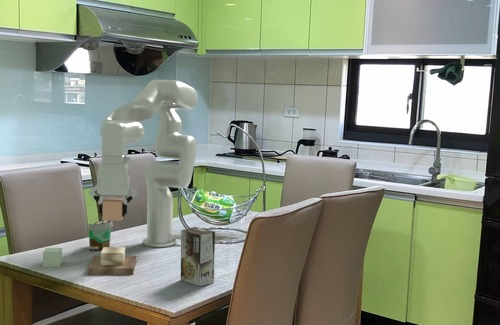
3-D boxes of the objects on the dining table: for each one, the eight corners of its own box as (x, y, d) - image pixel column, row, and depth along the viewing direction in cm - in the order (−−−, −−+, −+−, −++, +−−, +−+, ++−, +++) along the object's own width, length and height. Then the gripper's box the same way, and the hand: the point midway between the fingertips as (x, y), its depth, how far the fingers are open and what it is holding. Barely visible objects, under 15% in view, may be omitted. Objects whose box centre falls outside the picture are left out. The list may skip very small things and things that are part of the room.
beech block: (124, 258, 202) (125, 247, 201) (123, 265, 195) (123, 252, 194) (103, 258, 201) (103, 247, 200) (100, 265, 194) (100, 252, 194)
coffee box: (214, 282, 187) (216, 231, 185) (199, 287, 182) (200, 234, 180) (194, 275, 193) (195, 226, 191) (179, 280, 188) (180, 229, 186)
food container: (104, 253, 214) (104, 225, 213) (87, 251, 216) (87, 224, 214) (118, 244, 226) (118, 218, 225) (103, 243, 228) (103, 217, 226)
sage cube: (61, 262, 202) (61, 247, 202) (58, 266, 198) (58, 251, 197) (46, 262, 202) (46, 247, 201) (43, 266, 197) (42, 251, 196)
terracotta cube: (123, 216, 199) (123, 198, 198) (121, 220, 193) (121, 202, 193) (104, 216, 198) (104, 198, 198) (102, 220, 193) (102, 201, 192)
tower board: (136, 261, 206) (136, 255, 206) (133, 274, 192) (133, 268, 192) (94, 261, 204) (94, 255, 204) (87, 274, 190) (87, 268, 190)
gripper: (141, 159, 198) (140, 213, 201) (87, 158, 196) (87, 213, 199) (140, 162, 191) (139, 218, 193) (84, 161, 189) (83, 218, 191)
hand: (113, 215), depth 196 cm, fingers closed on terracotta cube, 6 cm apart
